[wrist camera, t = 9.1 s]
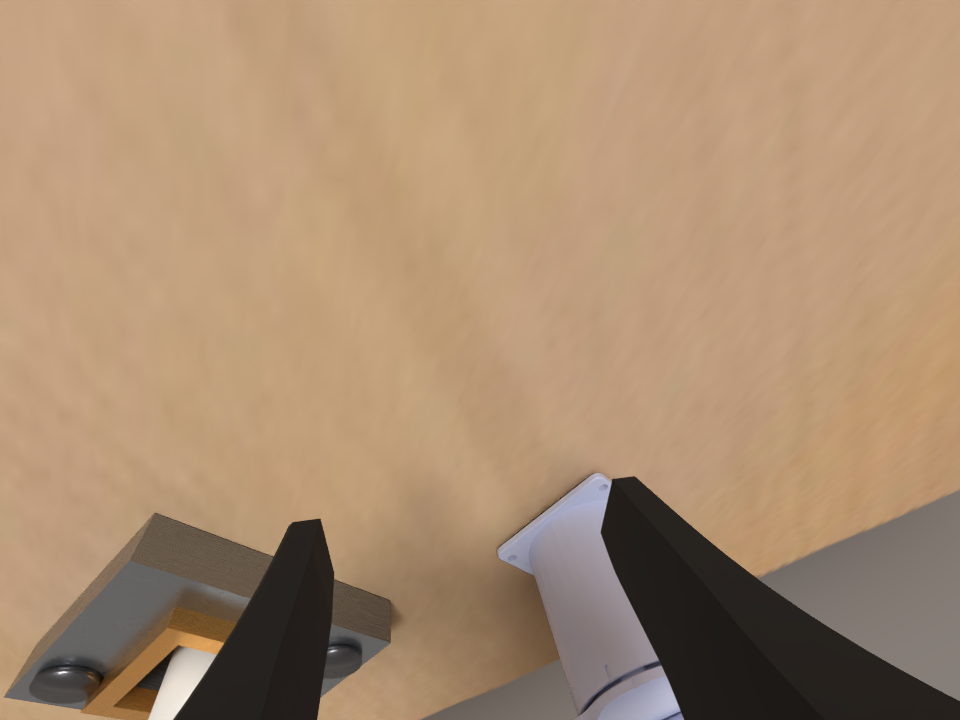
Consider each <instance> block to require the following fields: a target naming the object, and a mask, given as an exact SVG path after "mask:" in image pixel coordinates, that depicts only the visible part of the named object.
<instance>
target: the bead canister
mask: <svg viewBox="0 0 960 720" xmlns="http://www.w3.org/2000/svg"><path fill="white" fill-rule="evenodd" d="M216 655H217V654H213V653H209V652H205V651H201V650H196V649H192V648H188V647H184V646H180V645H177V646H176V647H175V649H174V652H173V655H172V657H171V660H170V663H169V665H168V668H167V671H166V673H165V676H164V679H163V681H162V684H161V687H160V689H159V692H158V695H157V697H156V700H155V703H154V705H153V708H152V711H151V713H150V716H149V719H148V720H173V719H174V718H175V716H176V715H177V713H178V712H179V711H180V709H181V708H182V706H183V705H184V704H185V702H186V701H187V699H188V698H189V696H190V695H191V693H192V692H193V690H194V689H195V688H196V686H197V685H198V683H199V682H200V680H201V679H202V677H203V676H204V674H205V673H206V671H207V670H208V668H209V666H210V665H211V663H212V662H213V660H214V659H215V657H216Z"/></svg>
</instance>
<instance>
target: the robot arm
mask: <svg viewBox="0 0 960 720" xmlns="http://www.w3.org/2000/svg"><path fill="white" fill-rule="evenodd" d="M497 553H498V557H499V558H500V559H501V560H503V561H505V562H507V563H509V564H511V565H513V566H515V567H517V568H519V569H521V570H523V571H525V572H527V573H529V574H531V575H533V576H535V579H536V582H537V585H538V589H539V592H540V595H541V598H542V602H543V605H544V608H545V611H546V614H547V618H548V621H549V624H550V627H551V631H552V634H553V637H554V640H555V643H556V647H557V650H558V653H559V656H560V660H561V662H562V666H563V669H564V672H565V676H566V678H567V682H568V685H569V689H570V691H571V695H572V698H573V701H574V705H575V707H576V711H577V714H578V717H576V718H575V719H573V720H960V701H958V700H956V699H954V698H952V697H950V696H948V695H946V694H944V693H943V692H941V691H939V690H937V689H935V688H933V687H931V686H929V685H928V684H926V683H924V682H922V681H920V680H918V679H917V678H915V677H913V676H911V675H909V674H907V673H905V672H904V671H902V670H900V669H898V668H896V667H895V666H893V665H891V664H889V663H888V662H886V661H884V660H882V659H881V658H879V657H877V656H875V655H874V654H872V653H870V652H868V651H866V650H865V649H863V648H862V647H860V646H858V645H857V644H855V643H854V642H852V641H850V640H849V639H847V638H845V637H844V636H842V635H840V634H839V633H837V632H836V631H834V630H832V629H831V628H829V627H827V626H826V625H824V624H823V623H821V622H820V621H818V620H816V619H815V618H813V617H812V616H810V615H809V614H807V613H806V612H804V611H803V610H801V609H800V608H798V607H797V606H795V605H794V604H792V603H791V602H790V601H788V600H787V599H785V598H784V597H782V596H781V595H779V594H778V593H776V592H775V591H774V590H772V589H771V588H769V587H768V586H766V585H765V584H764V583H762V582H761V581H759V580H758V579H757V578H756V577H754V576H753V575H752V574H750V573H749V572H748V571H747V570H745V569H744V568H743V567H741V566H740V565H739V564H737V563H736V562H735V561H733V560H732V559H731V558H730V557H728V556H727V555H726V554H725V553H723V552H722V551H721V550H720V549H718V548H717V547H716V546H715V545H713V544H712V543H711V542H710V541H709V540H707V539H706V538H705V537H704V536H703V535H701V534H700V533H699V532H698V531H697V530H695V529H694V528H693V527H692V526H691V525H689V524H688V523H687V522H686V521H685V520H684V519H683V518H681V517H680V516H679V515H678V514H677V513H676V512H674V511H673V510H672V509H671V508H670V507H669V506H668V505H667V504H665V503H664V502H663V501H662V500H661V499H660V498H659V497H657V496H656V495H655V494H654V493H653V492H652V491H651V490H650V489H648V488H647V487H646V486H645V485H644V484H643V483H642V482H640V481H639V480H638V479H637V478H636V477H635V476H633V477H626V478H618V479H612V481H611V480H610V479H608V478H607V477H606V476H604V475H603V474H601V473H595V474H592V475H591V476H589V477H588V478H587V479H586V480H584V481H583V482H582V483H581V484H579V485H578V486H577V487H575V488H574V489H573V490H572V491H570V492H569V493H568V494H567V495H565V496H564V497H563V498H561V499H560V500H559V501H558V502H556V503H555V504H554V505H553V506H551V507H550V508H549V509H547V510H546V511H545V512H544V513H542V514H541V515H540V516H539V517H537V518H536V519H535V520H533V521H532V522H531V523H530V524H528V525H527V526H526V527H525V528H523V529H522V530H521V531H519V532H518V533H517V534H516V535H514V536H513V537H512V538H511V539H509V540H508V541H507V542H505V543H504V544H503V545H502V546H500V547H499V548H498V550H497ZM333 590H334V571H333V567H332V563H331V559H330V555H329V551H328V547H327V543H326V539H325V535H324V531H323V527H322V523H321V519H314V520H306V521H299V522H293V523H292V524H291V525H290V526H289V527H288V529H287V531H286V533H285V535H284V537H283V539H282V541H281V543H280V545H279V547H278V550H277V552H276V553H275V555H274V557H273V559H272V561H271V563H270V565H269V567H268V569H267V571H266V573H265V574H264V576H263V578H262V580H261V582H260V584H259V586H258V587H257V589H256V591H255V592H254V594H253V596H252V598H251V599H250V601H249V603H248V605H247V606H246V608H245V610H244V612H243V613H242V615H241V617H240V619H239V620H238V622H237V624H236V625H235V627H234V629H233V630H232V632H231V633H230V635H229V636H228V638H227V640H226V641H225V643H224V644H223V646H222V648H221V649H220V651H219V652H218V654H217V655H216V657H215V659H214V660H213V662H212V663H211V665H210V666H209V668H208V670H207V671H206V673H205V674H204V676H203V677H202V679H201V680H200V682H199V683H198V685H197V686H196V688H195V689H194V690H193V692H192V693H191V695H190V696H189V698H188V699H187V701H186V702H185V704H184V705H183V706H182V708H181V709H180V711H179V712H178V713H177V715H176V716H175V718H174V719H173V720H317V716H318V710H319V703H320V697H321V690H322V684H323V677H324V670H325V664H326V657H327V651H328V644H329V637H330V630H331V623H332V611H333Z"/></svg>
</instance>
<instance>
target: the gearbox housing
mask: <svg viewBox="0 0 960 720" xmlns="http://www.w3.org/2000/svg"><path fill="white" fill-rule="evenodd" d="M272 559H273V557H271V556H269V555H266V554H263V553H261V552H258V551H255V550H253V549H250V548H247V547H244V546H242V545H239V544H236V543H234V542H231V541H228V540H226V539H223V538H220V537H218V536H215V535H212V534H210V533H207V532H204V531H202V530H199V529H196V528H194V527H191V526H188V525H185V524H183V523H180V522H177V521H175V520H172V519H169V518H167V517H164V516H161V515H159V514H156V513H155V514H154V515H153V516H152V517H151V518H150V519H149V520H148V521H147V522H146V524H145V525H144V526H143V527H142V528H141V529H140V530H139V531H138V532H137V534H136V535H135V536H134V537H133V538H132V539H131V540H130V541H129V542H128V544H127V545H126V546H125V547H124V548H123V549H122V550H121V551H120V552H119V554H118V555H117V556H116V557H115V558H114V559H113V560H112V561H111V562H110V564H109V565H108V566H107V567H106V568H105V569H104V570H103V571H102V572H101V573H100V575H99V576H98V577H97V578H96V579H95V580H94V581H93V582H92V583H91V585H90V586H89V587H88V588H87V589H86V590H85V591H84V592H83V593H82V595H81V596H80V597H79V598H78V599H77V600H76V601H75V602H74V603H73V605H72V606H71V607H70V608H69V609H68V610H67V611H66V612H65V613H64V615H63V616H62V617H61V618H60V619H59V620H58V621H57V622H56V623H55V625H54V626H53V627H52V628H51V629H50V630H49V631H48V632H47V633H46V635H45V636H44V637H43V638H42V639H41V640H40V641H39V642H38V643H37V645H36V646H35V648H34V650H33V651H32V653H31V654H30V656H29V658H28V659H27V661H26V662H25V664H24V666H23V667H22V669H21V670H20V672H19V674H18V675H17V677H16V678H15V680H14V682H13V683H12V685H11V686H10V688H9V690H8V691H7V693H6V694H5V696H4V697H5V698H11V699H18V700H24V701H30V702H36V703H43V704H49V705H55V706H62V707H68V708H74V709H81V710H82V711H81V713H85V714H92V715H98V716H105V717H111V718H118V719H124V720H148V719H149V716H150V713H151V711H152V708H153V705H154V703H155V700H156V697H157V695H158V692H159V689H160V687H161V684H162V681H163V679H164V676H165V673H166V671H167V668H168V665H169V663H170V660H171V657H172V655H173V652H174V649H175V647H176V646H177V645H180V646H184V647H188V648H192V649H196V650H201V651H205V652H209V653H213V654H218V652H219V651H220V649H221V648H222V646H223V644H224V643H225V641H226V640H227V638H228V636H229V635H230V633H231V632H232V630H233V629H234V627H235V625H236V624H237V622H238V620H239V619H240V617H241V615H242V613H243V612H244V610H245V608H246V606H247V605H248V603H249V601H250V599H251V598H252V596H253V594H254V592H255V591H256V589H257V587H258V586H259V584H260V582H261V580H262V578H263V576H264V574H265V573H266V571H267V569H268V567H269V565H270V563H271V561H272ZM390 643H391V635H390V601H389V600H387V599H384V598H381V597H379V596H376V595H373V594H371V593H368V592H365V591H363V590H360V589H357V588H354V587H352V586H349V585H346V584H344V583H341V582H338V581H336V580H334V590H333V611H332V623H331V630H330V637H329V644H328V651H327V657H326V664H325V670H324V677H323V684H322V690H321V697H322V696H323V695H324V694H326V693H327V692H328V691H329V690H331V689H332V688H333V687H335V686H336V685H337V684H338V683H340V682H341V681H342V680H344V679H345V678H346V677H347V676H349V675H350V674H352V673H354V672H356V671H357V670H358V669H359V668H360V667H361V666H362V665H363V664H364V663H365V662H367V661H368V660H369V659H371V658H372V657H373V656H374V655H376V654H377V653H378V652H380V651H381V650H382V649H384V648H385V647H386V646H387V645H389V644H390Z"/></svg>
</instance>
